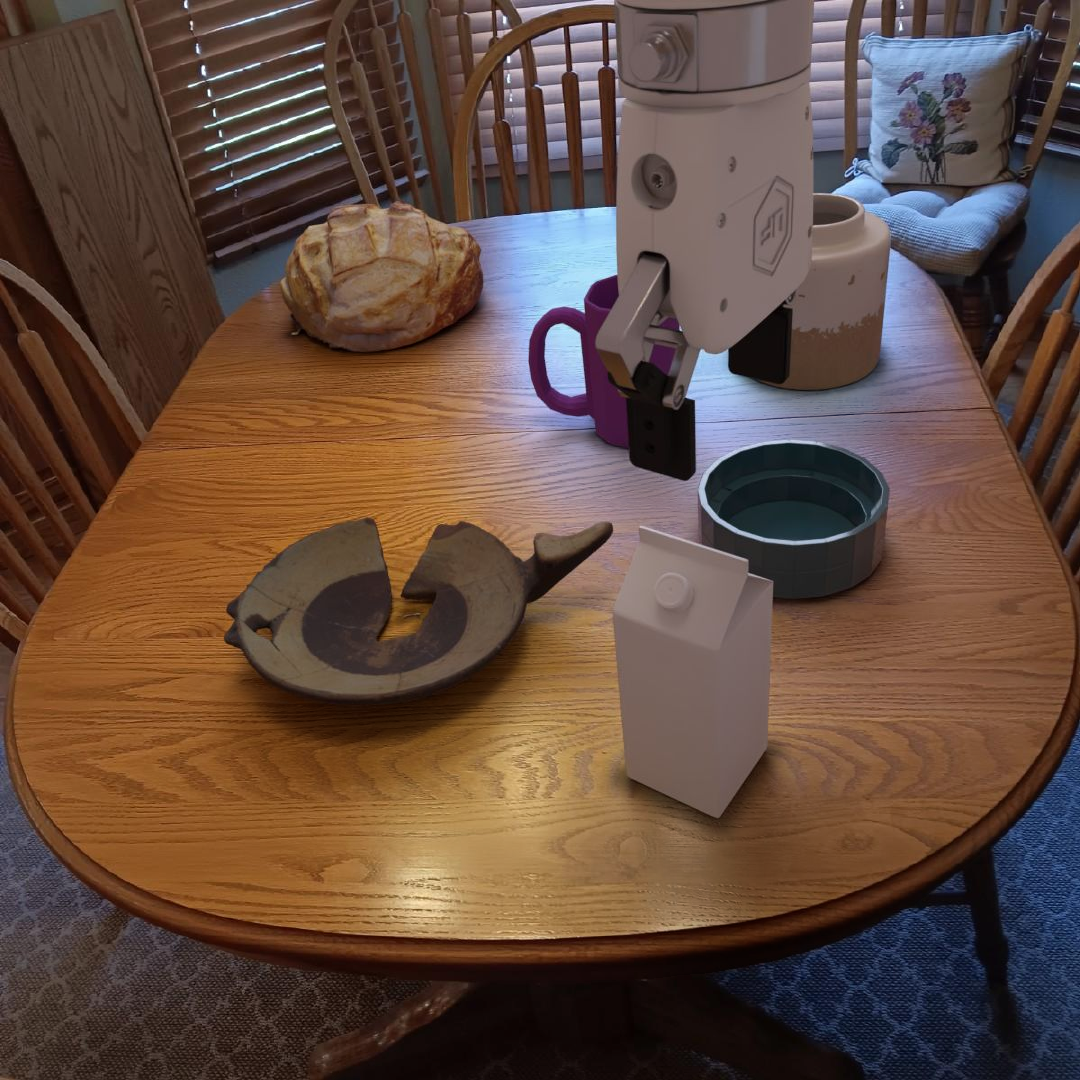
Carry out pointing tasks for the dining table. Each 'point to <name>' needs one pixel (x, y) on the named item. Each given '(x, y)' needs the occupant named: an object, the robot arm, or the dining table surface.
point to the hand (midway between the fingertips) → (713, 421)
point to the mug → (590, 363)
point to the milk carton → (692, 669)
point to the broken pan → (365, 603)
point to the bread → (380, 277)
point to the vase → (839, 297)
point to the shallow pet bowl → (796, 514)
